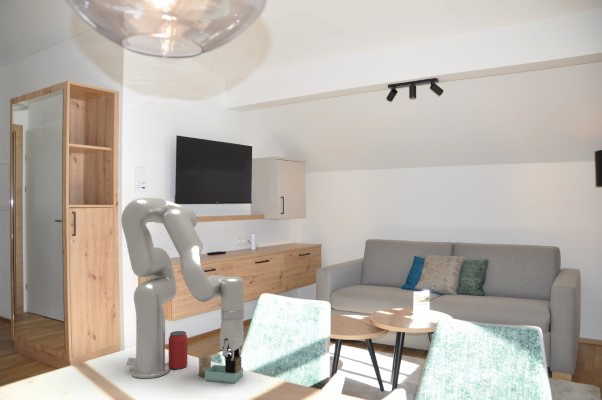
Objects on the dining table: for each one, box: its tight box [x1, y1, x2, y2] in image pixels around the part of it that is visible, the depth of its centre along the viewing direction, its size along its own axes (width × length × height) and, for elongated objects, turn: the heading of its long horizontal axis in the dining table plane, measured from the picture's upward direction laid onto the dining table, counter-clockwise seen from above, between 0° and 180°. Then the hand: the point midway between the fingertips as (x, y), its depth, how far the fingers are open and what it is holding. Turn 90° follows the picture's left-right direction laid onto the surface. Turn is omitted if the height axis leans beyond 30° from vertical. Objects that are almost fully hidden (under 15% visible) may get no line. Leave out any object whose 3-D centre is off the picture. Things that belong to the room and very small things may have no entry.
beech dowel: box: [198, 355, 212, 378], centre depth 166 cm, size 4×4×6 cm
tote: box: [204, 364, 244, 385], centre depth 162 cm, size 10×7×3 cm, turn 75°
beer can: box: [168, 330, 189, 370], centre depth 174 cm, size 7×7×12 cm
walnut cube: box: [234, 356, 242, 373], centre depth 161 cm, size 4×4×4 cm
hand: (232, 369), depth 161 cm, fingers closed on walnut cube, 3 cm apart
